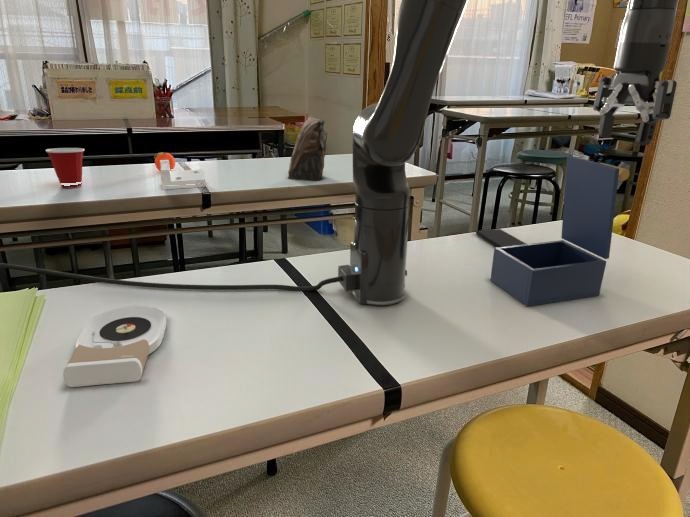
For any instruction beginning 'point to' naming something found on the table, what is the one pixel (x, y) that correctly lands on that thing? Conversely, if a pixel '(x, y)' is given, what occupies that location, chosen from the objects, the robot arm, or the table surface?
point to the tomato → (164, 157)
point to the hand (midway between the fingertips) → (622, 140)
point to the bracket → (181, 177)
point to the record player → (115, 346)
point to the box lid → (590, 204)
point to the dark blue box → (547, 272)
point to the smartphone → (499, 238)
